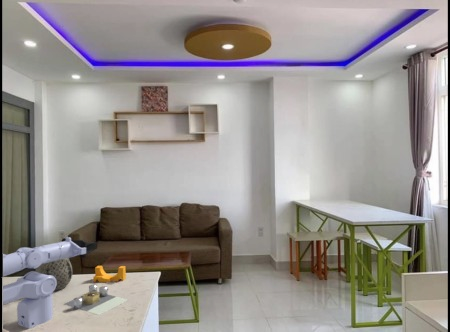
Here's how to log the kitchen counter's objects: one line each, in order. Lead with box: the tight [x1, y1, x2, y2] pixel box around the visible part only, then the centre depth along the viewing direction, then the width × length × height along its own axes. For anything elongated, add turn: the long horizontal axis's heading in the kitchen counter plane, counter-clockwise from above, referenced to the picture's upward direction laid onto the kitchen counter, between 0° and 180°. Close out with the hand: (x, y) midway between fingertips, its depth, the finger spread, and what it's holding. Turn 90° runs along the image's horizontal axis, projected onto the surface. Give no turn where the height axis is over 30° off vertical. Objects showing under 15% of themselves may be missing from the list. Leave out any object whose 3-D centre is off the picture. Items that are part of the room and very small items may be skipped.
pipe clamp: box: [93, 265, 127, 283], centre depth 143 cm, size 12×4×6 cm, turn 85°
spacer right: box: [98, 285, 108, 297], centre depth 127 cm, size 3×3×3 cm
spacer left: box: [72, 296, 83, 310], centre depth 117 cm, size 3×3×3 cm
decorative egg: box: [38, 258, 73, 292], centre depth 135 cm, size 12×12×15 cm
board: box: [64, 291, 128, 316], centre depth 122 cm, size 13×18×1 cm
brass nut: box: [82, 291, 99, 305], centre depth 122 cm, size 6×5×3 cm
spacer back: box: [88, 283, 98, 292], centre depth 129 cm, size 3×3×3 cm
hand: (89, 244), depth 126 cm, fingers open, 7 cm apart
